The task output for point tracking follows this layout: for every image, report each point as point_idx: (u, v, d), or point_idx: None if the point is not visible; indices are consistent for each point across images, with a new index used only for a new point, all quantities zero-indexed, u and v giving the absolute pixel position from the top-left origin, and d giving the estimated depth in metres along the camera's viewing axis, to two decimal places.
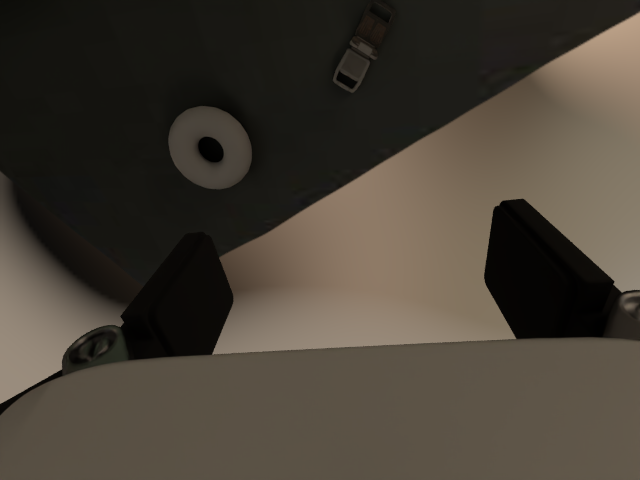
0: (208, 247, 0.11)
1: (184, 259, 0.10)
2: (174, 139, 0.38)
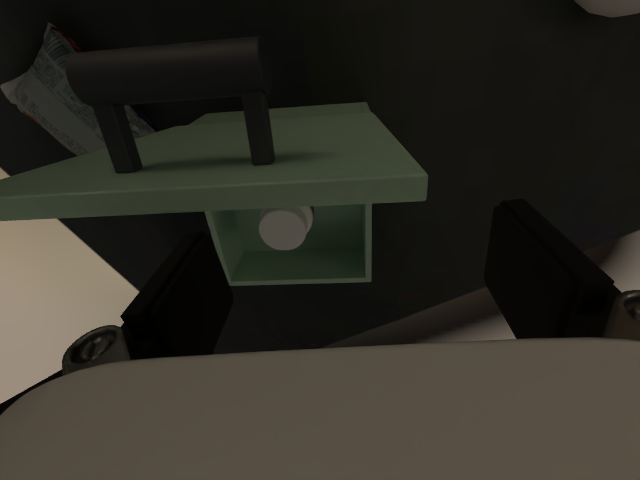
0: (208, 247, 0.11)
1: (184, 259, 0.10)
2: None
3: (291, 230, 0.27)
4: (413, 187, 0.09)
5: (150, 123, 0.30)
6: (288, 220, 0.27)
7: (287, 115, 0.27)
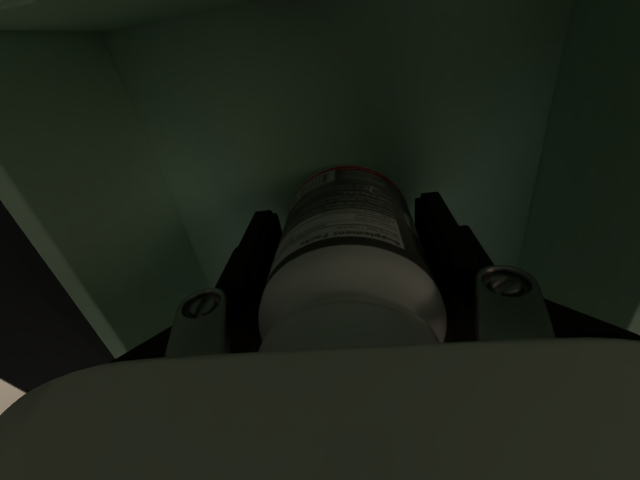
0: (277, 224, 0.11)
1: (262, 233, 0.10)
2: None
3: None
4: None
5: None
6: None
7: None
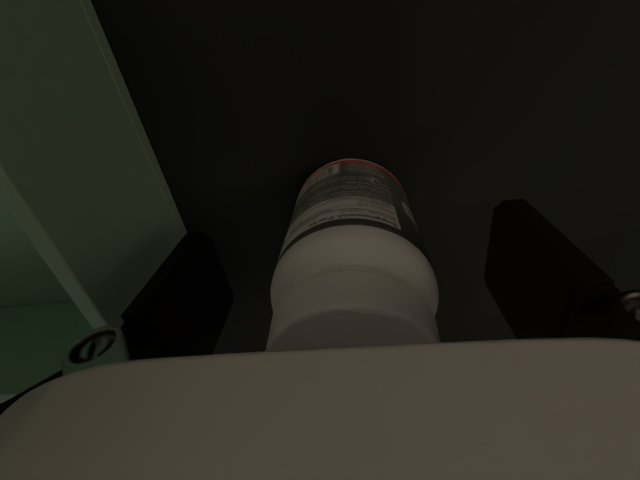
0: (208, 247, 0.11)
1: (184, 259, 0.10)
2: None
3: None
4: None
5: None
6: (378, 342, 0.07)
7: None
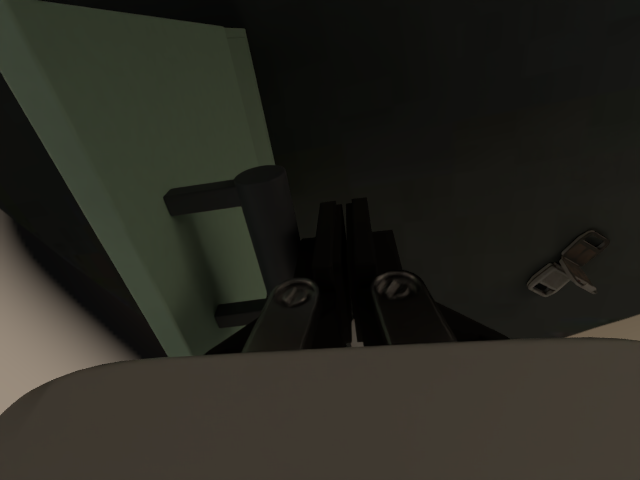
0: (342, 215, 0.11)
1: (334, 223, 0.10)
2: None
3: None
4: None
5: None
6: None
7: (260, 147, 0.27)
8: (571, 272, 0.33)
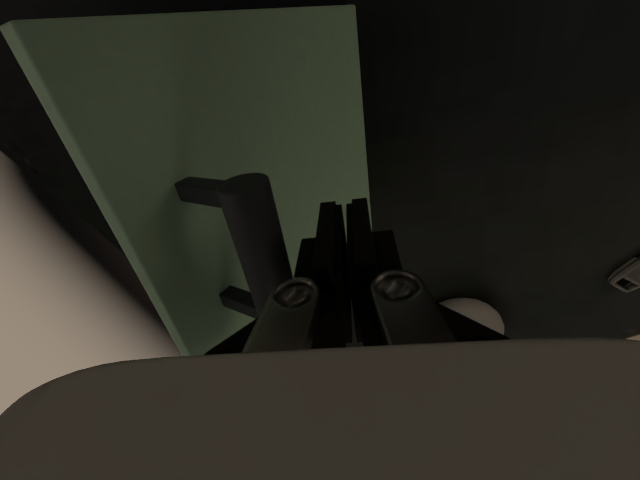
0: (342, 215, 0.11)
1: (334, 223, 0.10)
2: None
3: None
4: None
5: None
6: None
7: None
8: None
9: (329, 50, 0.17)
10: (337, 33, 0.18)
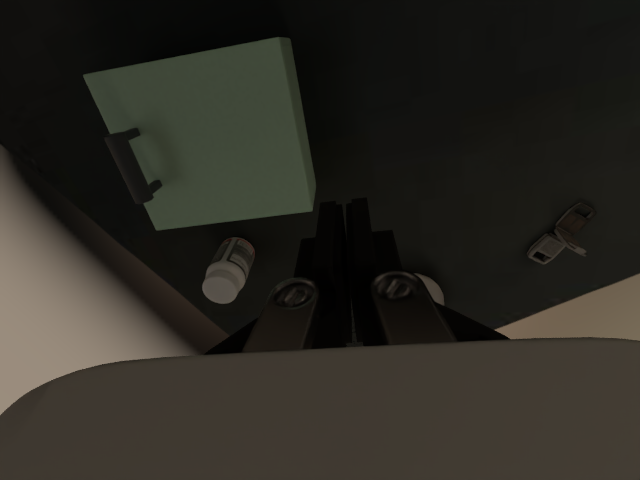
0: (342, 215, 0.11)
1: (334, 223, 0.10)
2: None
3: (221, 296, 0.38)
4: None
5: None
6: (229, 294, 0.37)
7: (302, 134, 0.33)
8: (564, 238, 0.38)
9: (242, 72, 0.27)
10: (252, 60, 0.26)
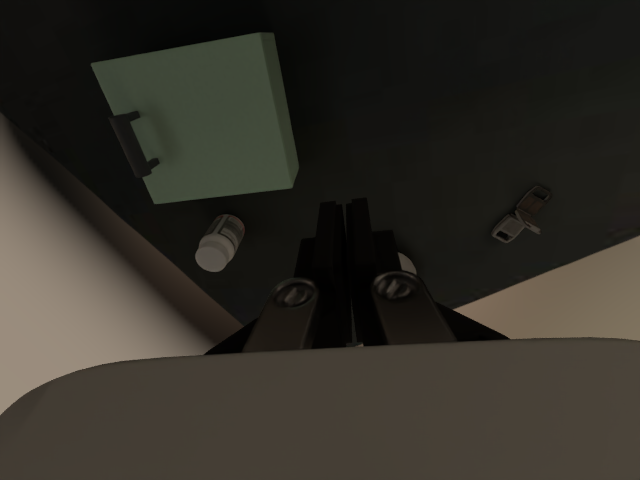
0: (342, 215, 0.11)
1: (334, 223, 0.10)
2: None
3: (212, 264, 0.42)
4: None
5: None
6: (219, 262, 0.42)
7: (284, 119, 0.37)
8: (522, 218, 0.42)
9: (228, 63, 0.31)
10: (237, 52, 0.30)
